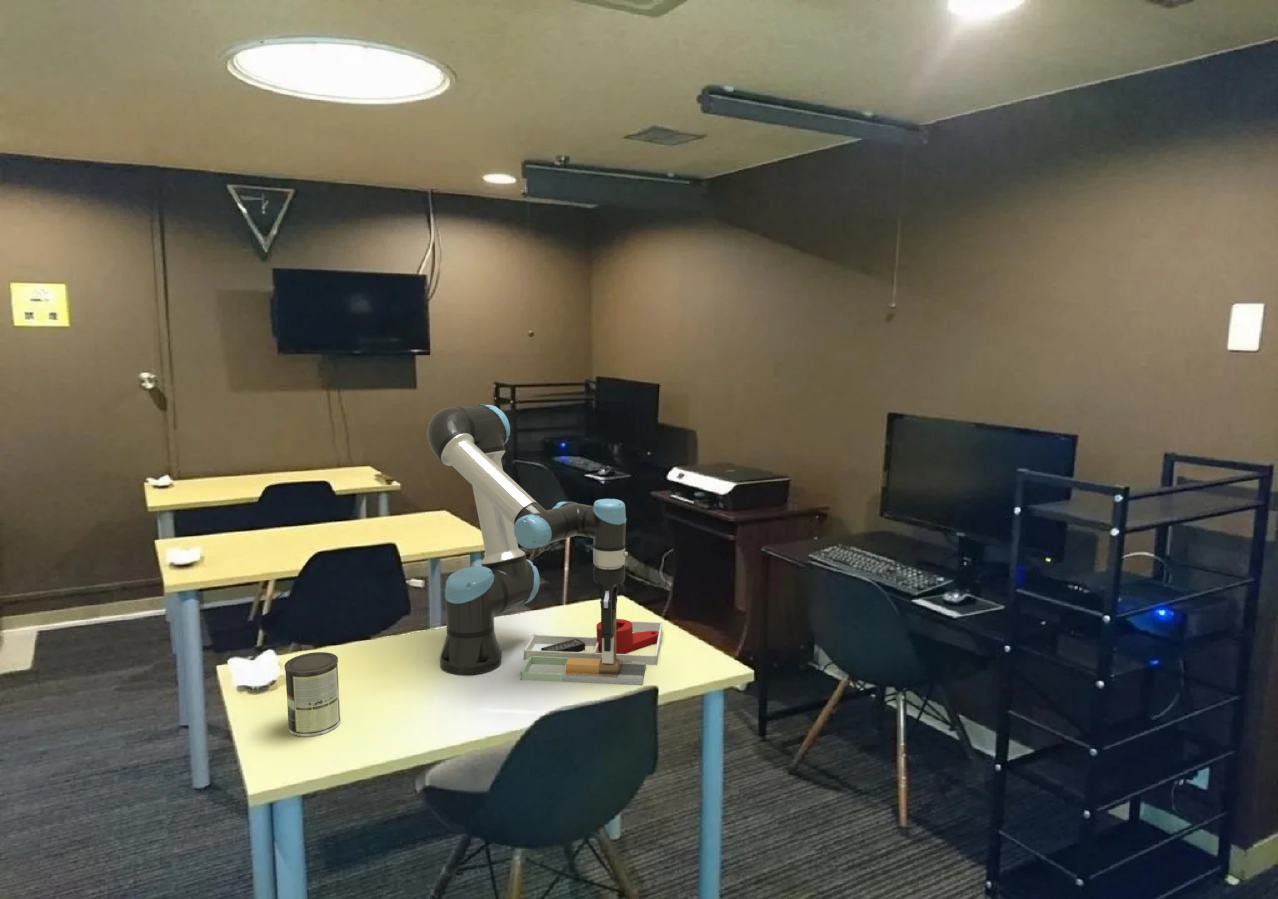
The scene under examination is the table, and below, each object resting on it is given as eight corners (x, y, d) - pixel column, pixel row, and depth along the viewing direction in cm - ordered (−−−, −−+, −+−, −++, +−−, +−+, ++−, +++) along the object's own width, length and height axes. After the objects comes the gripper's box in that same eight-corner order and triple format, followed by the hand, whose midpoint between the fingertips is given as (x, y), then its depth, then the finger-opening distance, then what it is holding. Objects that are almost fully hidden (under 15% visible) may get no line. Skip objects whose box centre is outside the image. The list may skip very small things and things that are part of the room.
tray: (520, 682, 188) (520, 672, 188) (530, 665, 198) (529, 656, 198) (562, 684, 187) (562, 674, 187) (569, 667, 197) (569, 657, 197)
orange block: (582, 676, 190) (582, 664, 190) (584, 670, 194) (584, 658, 193) (598, 677, 190) (598, 665, 189) (600, 670, 194) (601, 658, 193)
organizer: (524, 662, 200) (523, 650, 200) (543, 628, 224) (543, 617, 224) (656, 667, 197) (656, 656, 197) (662, 632, 221) (662, 622, 221)
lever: (606, 659, 202) (605, 634, 201) (591, 647, 210) (590, 623, 209) (668, 645, 210) (667, 621, 209) (651, 634, 218) (650, 611, 217)
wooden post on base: (617, 675, 189) (617, 615, 187) (598, 675, 189) (598, 614, 187) (619, 668, 193) (619, 608, 191) (601, 667, 194) (601, 608, 192)
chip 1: (565, 676, 190) (565, 664, 190) (568, 669, 194) (568, 657, 194) (582, 676, 190) (582, 664, 190) (584, 670, 194) (584, 658, 193)
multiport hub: (540, 656, 203) (540, 648, 203) (576, 646, 210) (576, 638, 210) (549, 662, 200) (549, 653, 200) (585, 652, 207) (585, 643, 206)
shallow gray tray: (562, 684, 187) (562, 675, 187) (569, 667, 197) (569, 658, 197) (642, 688, 186) (642, 679, 185) (645, 670, 196) (645, 661, 195)
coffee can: (276, 731, 164) (272, 666, 162) (314, 710, 174) (311, 648, 172) (315, 741, 160) (311, 675, 158) (351, 719, 170) (348, 656, 168)
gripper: (621, 575, 179) (620, 674, 183) (628, 556, 195) (627, 647, 199) (588, 574, 180) (588, 672, 183) (598, 555, 196) (597, 646, 199)
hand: (608, 659), depth 191 cm, fingers closed on wooden post on base, 3 cm apart
